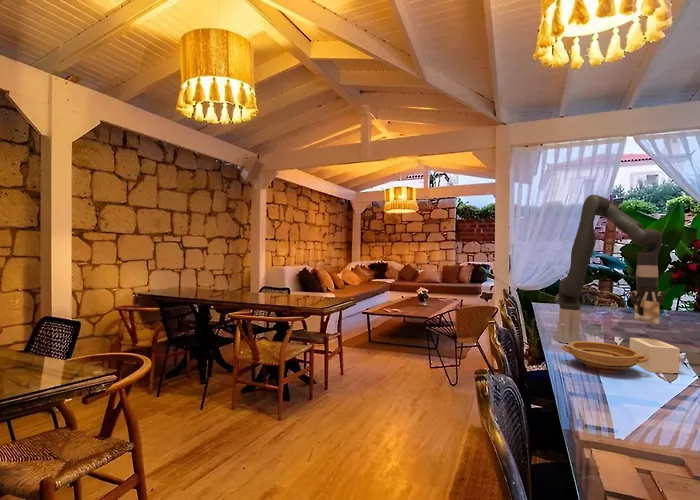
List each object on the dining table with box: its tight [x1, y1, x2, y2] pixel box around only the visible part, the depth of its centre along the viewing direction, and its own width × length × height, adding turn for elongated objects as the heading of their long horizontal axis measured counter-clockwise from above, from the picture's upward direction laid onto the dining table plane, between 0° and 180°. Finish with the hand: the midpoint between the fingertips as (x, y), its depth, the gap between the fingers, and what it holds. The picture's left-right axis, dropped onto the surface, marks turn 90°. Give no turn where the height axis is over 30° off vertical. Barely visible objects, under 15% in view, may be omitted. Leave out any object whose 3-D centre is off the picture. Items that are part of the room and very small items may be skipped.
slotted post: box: [628, 337, 681, 374], centre depth 163 cm, size 10×15×10 cm
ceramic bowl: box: [560, 340, 648, 374], centre depth 159 cm, size 30×24×8 cm
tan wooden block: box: [634, 298, 660, 325], centre depth 170 cm, size 4×10×9 cm, turn 173°
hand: (646, 315), depth 170 cm, fingers closed on tan wooden block, 4 cm apart
